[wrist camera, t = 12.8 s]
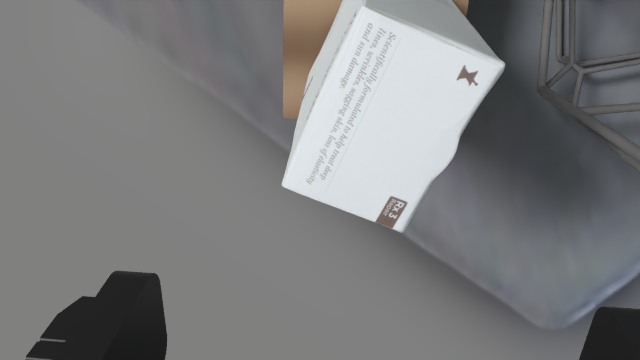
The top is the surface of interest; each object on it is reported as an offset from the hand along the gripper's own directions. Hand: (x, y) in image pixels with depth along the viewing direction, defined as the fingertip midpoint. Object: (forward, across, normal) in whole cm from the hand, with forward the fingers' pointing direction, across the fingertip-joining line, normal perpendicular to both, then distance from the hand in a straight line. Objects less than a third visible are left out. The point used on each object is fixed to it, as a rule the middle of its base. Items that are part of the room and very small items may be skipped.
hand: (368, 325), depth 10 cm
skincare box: (+26, -1, 0) cm, 26 cm away
